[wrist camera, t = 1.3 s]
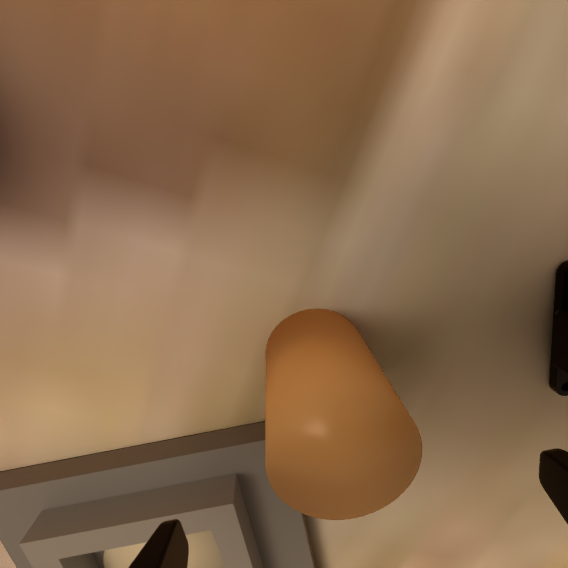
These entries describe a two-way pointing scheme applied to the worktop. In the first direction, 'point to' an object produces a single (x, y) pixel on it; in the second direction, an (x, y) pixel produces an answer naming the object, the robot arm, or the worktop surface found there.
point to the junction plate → (154, 506)
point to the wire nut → (333, 421)
